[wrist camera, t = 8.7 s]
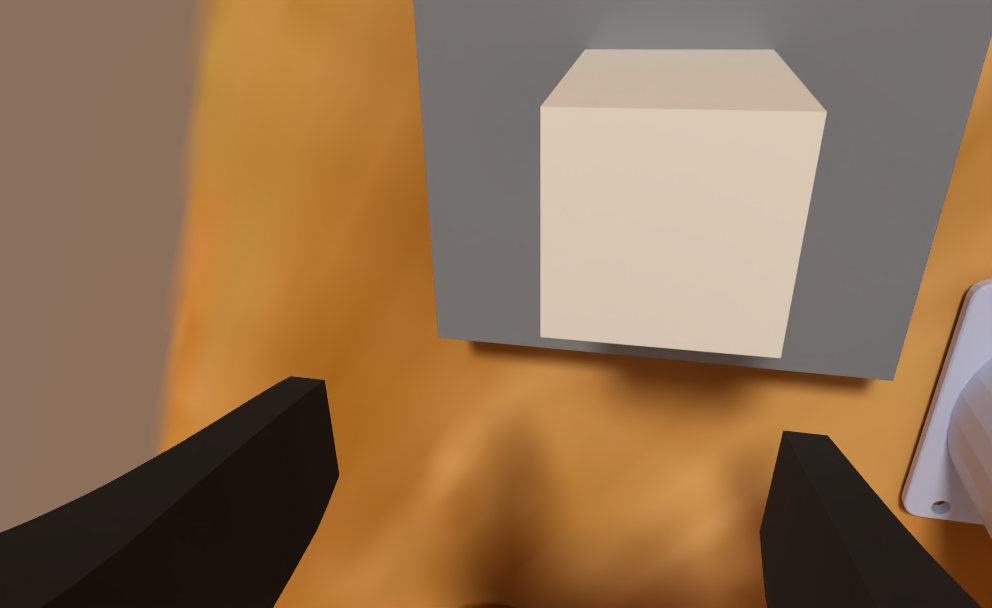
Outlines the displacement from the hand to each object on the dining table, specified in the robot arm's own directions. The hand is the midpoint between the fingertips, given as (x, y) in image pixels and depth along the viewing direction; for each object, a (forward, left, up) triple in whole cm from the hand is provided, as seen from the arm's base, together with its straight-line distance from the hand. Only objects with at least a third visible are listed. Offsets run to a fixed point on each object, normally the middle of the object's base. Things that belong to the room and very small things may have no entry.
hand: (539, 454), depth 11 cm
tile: (-2, -3, -10) cm, 11 cm away
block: (-2, -3, -8) cm, 9 cm away
